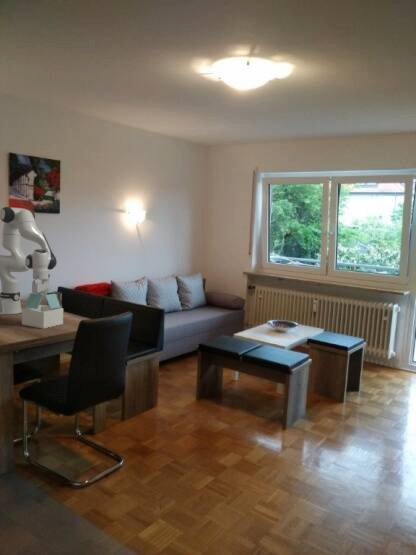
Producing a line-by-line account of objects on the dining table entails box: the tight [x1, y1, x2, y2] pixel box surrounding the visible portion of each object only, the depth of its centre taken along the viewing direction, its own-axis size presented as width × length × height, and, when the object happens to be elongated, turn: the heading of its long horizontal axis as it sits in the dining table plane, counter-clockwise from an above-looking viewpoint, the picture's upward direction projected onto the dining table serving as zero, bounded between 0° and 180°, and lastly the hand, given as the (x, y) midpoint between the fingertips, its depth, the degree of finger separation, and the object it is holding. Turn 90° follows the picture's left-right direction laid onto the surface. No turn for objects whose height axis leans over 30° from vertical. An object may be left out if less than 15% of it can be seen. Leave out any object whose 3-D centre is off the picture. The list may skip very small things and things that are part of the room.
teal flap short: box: [44, 294, 60, 309], centre depth 273 cm, size 1×8×9 cm, turn 154°
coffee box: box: [46, 291, 63, 308], centre depth 299 cm, size 9×6×16 cm
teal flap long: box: [24, 292, 44, 309], centre depth 270 cm, size 10×1×9 cm, turn 65°
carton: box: [21, 304, 64, 330], centre depth 275 cm, size 19×17×10 cm
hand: (40, 298), depth 274 cm, fingers closed
